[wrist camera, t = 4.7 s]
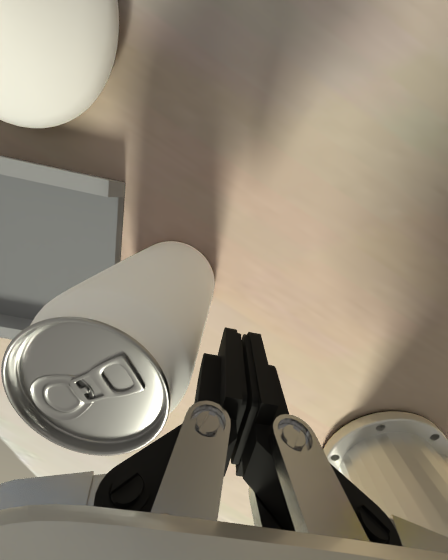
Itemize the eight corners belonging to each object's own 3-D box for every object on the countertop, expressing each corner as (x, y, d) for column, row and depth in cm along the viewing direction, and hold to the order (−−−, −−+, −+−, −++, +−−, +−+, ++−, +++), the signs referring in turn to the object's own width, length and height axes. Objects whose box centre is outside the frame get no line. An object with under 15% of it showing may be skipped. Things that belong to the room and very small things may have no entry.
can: (120, 259, 19) (-56, 347, 8) (193, 225, 18) (115, 270, 6) (159, 326, 21) (63, 481, 9) (228, 300, 20) (215, 439, 8)
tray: (125, 182, 17) (100, 179, 14) (115, 337, 21) (94, 363, 18) (-85, 136, 16) (-165, 121, 13) (-52, 307, 20) (-106, 328, 17)
